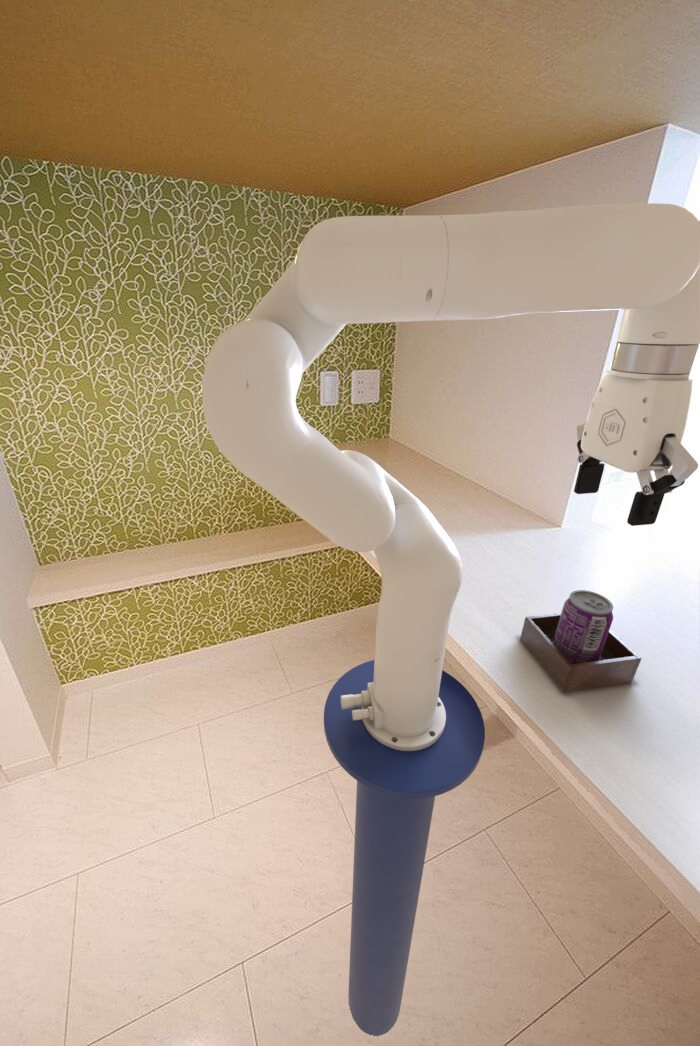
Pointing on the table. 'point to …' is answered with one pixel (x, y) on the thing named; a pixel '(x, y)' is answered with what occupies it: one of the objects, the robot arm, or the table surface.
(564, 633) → the beverage can
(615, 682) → the crate
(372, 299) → the robot arm
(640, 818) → the table surface
